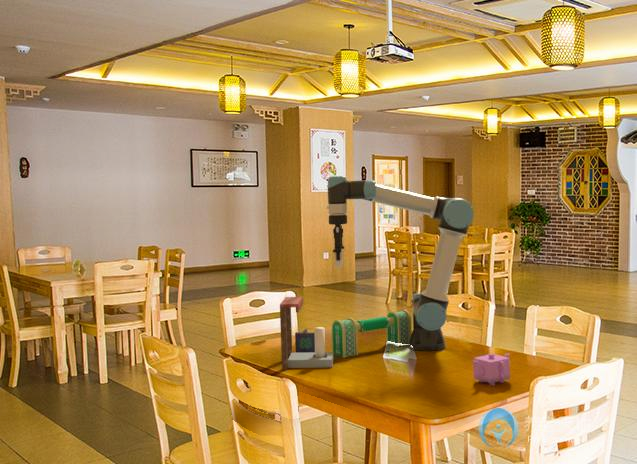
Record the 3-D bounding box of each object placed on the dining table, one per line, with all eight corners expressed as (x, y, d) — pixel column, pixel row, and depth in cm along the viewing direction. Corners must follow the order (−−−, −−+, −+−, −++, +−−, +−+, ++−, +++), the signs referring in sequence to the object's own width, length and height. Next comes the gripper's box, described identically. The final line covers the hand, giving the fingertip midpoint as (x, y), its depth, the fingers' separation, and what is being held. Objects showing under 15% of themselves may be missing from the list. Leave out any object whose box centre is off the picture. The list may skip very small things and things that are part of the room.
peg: (325, 362, 267) (324, 327, 266) (325, 364, 263) (324, 329, 262) (315, 362, 267) (314, 327, 266) (314, 364, 263) (313, 329, 262)
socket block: (333, 359, 270) (333, 352, 270) (332, 367, 258) (331, 359, 258) (291, 360, 272) (291, 352, 271) (288, 367, 260) (287, 360, 260)
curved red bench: (304, 358, 274) (302, 296, 273) (300, 369, 256) (298, 304, 255) (287, 358, 275) (285, 296, 273) (282, 369, 257) (279, 304, 255)
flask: (317, 352, 283) (316, 327, 283) (317, 354, 280) (316, 328, 280) (295, 352, 284) (294, 327, 283) (295, 354, 281) (294, 329, 280)
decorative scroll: (343, 358, 273) (342, 321, 272) (332, 354, 280) (331, 318, 279) (412, 345, 292) (411, 311, 291) (399, 341, 299) (398, 308, 298)
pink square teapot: (494, 373, 244) (493, 346, 243) (523, 381, 232) (522, 353, 232) (457, 381, 234) (457, 354, 233) (486, 390, 223) (485, 361, 222)
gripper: (330, 213, 285) (331, 263, 287) (326, 215, 261) (328, 270, 262) (347, 213, 285) (349, 263, 286) (346, 215, 260) (347, 270, 261)
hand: (339, 266), depth 274 cm, fingers open, 13 cm apart
